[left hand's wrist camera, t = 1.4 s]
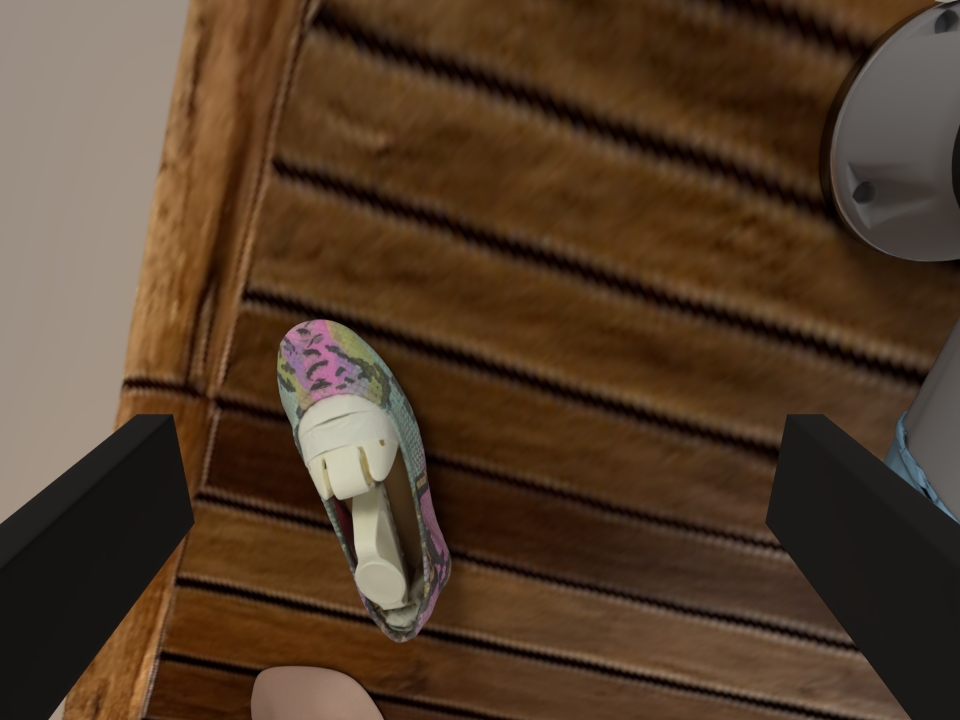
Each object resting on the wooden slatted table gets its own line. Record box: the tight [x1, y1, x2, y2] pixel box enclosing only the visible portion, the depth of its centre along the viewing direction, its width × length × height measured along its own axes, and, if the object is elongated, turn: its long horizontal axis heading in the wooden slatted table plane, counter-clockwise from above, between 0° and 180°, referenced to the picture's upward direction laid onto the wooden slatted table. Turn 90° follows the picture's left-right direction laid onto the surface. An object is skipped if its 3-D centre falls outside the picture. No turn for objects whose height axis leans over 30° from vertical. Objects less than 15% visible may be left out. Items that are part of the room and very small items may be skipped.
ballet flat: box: [277, 320, 451, 643], centre depth 41 cm, size 8×24×9 cm, turn 14°
